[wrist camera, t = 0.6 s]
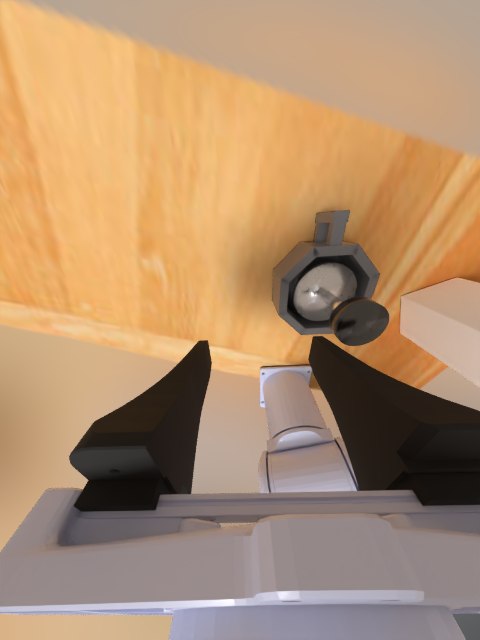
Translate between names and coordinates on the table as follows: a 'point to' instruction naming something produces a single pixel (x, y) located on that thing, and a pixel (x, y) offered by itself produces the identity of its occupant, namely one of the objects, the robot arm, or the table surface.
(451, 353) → the milk
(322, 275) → the plunger
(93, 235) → the table surface
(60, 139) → the table surface
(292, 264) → the grey jug
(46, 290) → the table surface
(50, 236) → the table surface
